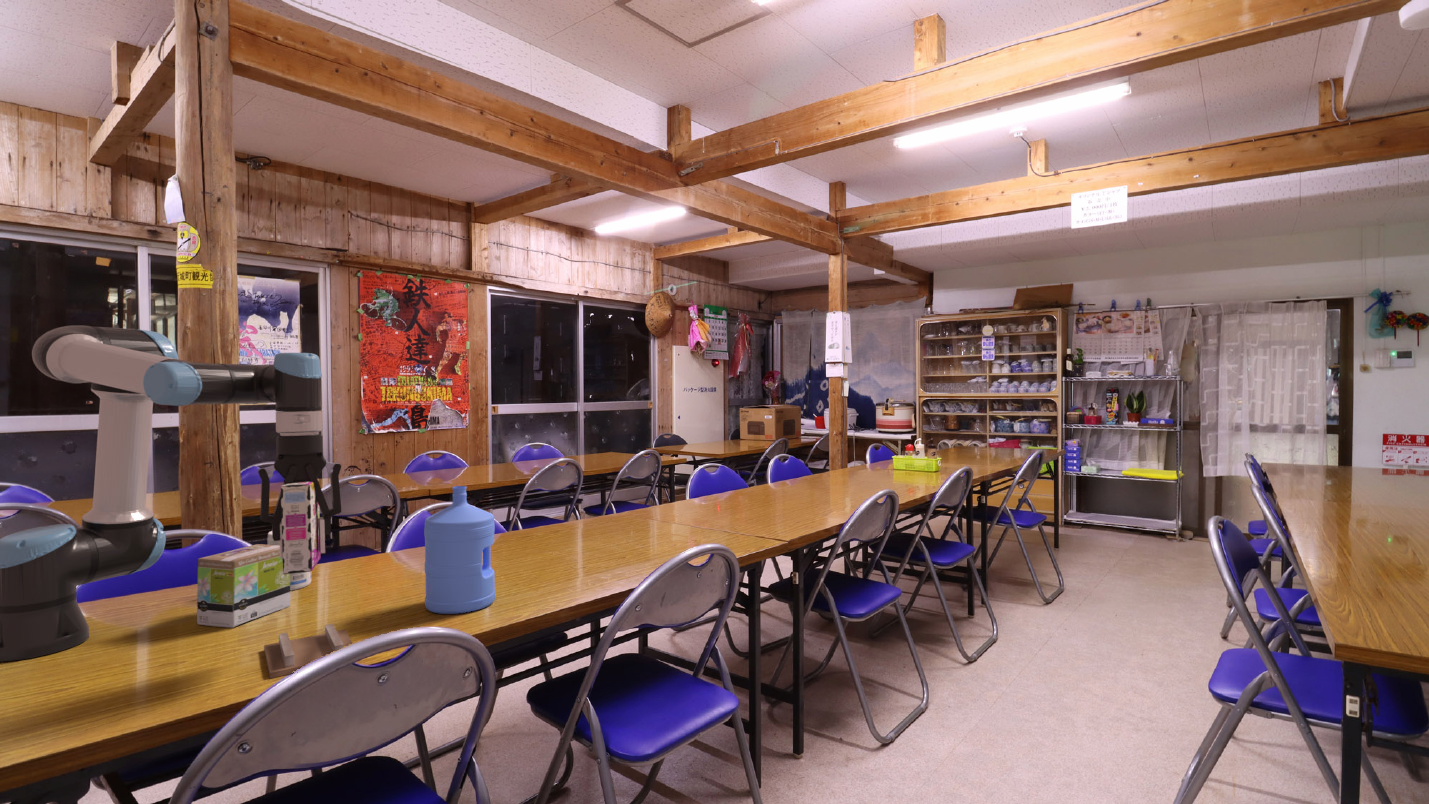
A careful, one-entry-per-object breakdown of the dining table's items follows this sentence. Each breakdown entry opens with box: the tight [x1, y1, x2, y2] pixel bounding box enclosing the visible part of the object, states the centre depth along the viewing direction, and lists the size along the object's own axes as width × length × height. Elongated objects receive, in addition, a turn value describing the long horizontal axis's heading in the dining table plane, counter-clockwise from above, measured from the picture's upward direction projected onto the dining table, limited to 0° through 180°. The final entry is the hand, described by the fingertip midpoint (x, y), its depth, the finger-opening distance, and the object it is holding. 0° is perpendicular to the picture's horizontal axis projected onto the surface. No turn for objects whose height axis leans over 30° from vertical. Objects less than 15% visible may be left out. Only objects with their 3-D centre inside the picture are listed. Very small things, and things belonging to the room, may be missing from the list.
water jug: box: [423, 485, 496, 615], centre depth 157 cm, size 16×16×28 cm
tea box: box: [196, 543, 291, 628], centre depth 150 cm, size 15×10×15 cm
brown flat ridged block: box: [263, 623, 353, 679], centre depth 128 cm, size 14×16×3 cm
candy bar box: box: [280, 478, 322, 574], centre depth 127 cm, size 11×5×16 cm, turn 23°
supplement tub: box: [266, 530, 312, 591], centre depth 172 cm, size 10×10×15 cm
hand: (302, 554), depth 127 cm, fingers closed on candy bar box, 6 cm apart
